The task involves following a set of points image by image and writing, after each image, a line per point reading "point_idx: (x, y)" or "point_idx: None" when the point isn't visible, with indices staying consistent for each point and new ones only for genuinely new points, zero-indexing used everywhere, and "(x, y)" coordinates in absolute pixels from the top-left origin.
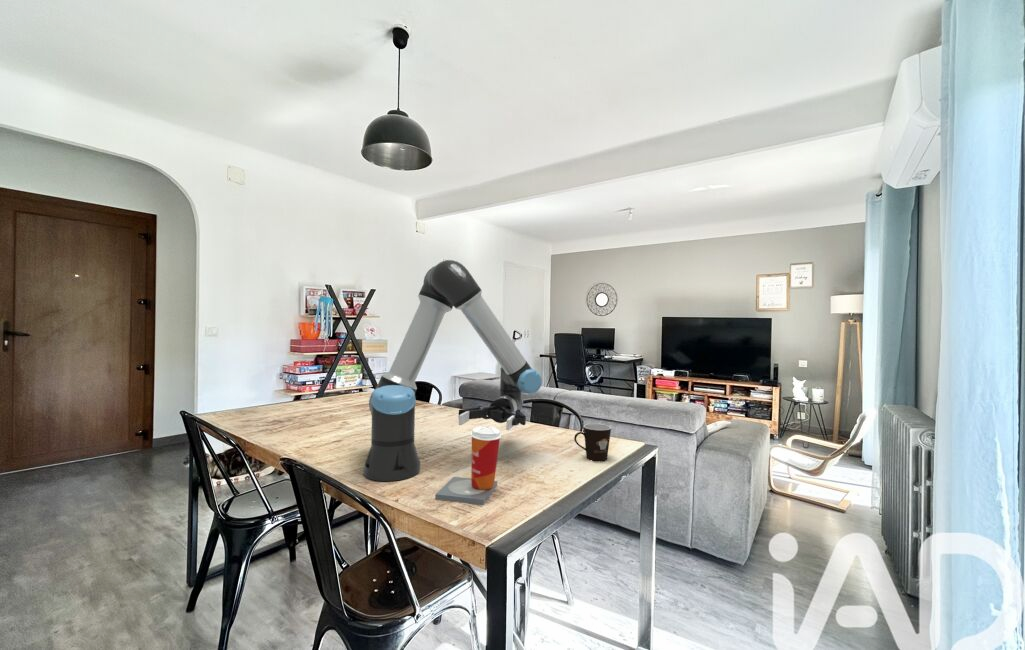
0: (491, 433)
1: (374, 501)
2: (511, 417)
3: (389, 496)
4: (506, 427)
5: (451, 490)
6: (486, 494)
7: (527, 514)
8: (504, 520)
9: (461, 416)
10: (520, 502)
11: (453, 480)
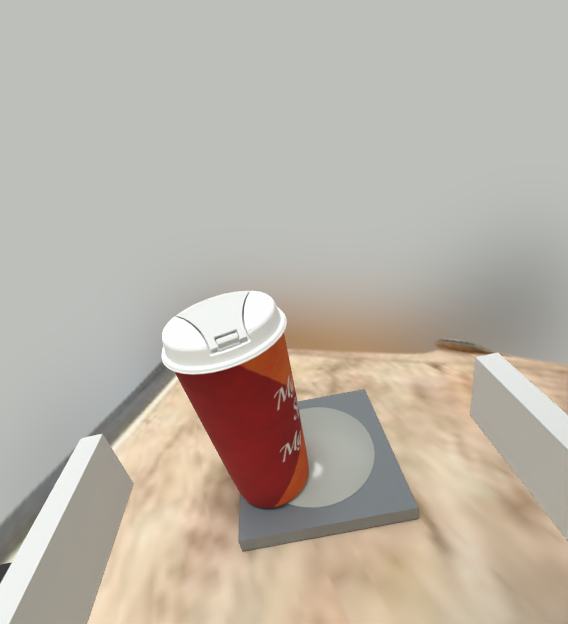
0: (192, 308)
1: (469, 348)
2: (26, 554)
3: (470, 370)
4: (125, 472)
5: (341, 414)
6: None
7: (144, 425)
8: None
9: (476, 363)
10: (157, 467)
11: (389, 475)
